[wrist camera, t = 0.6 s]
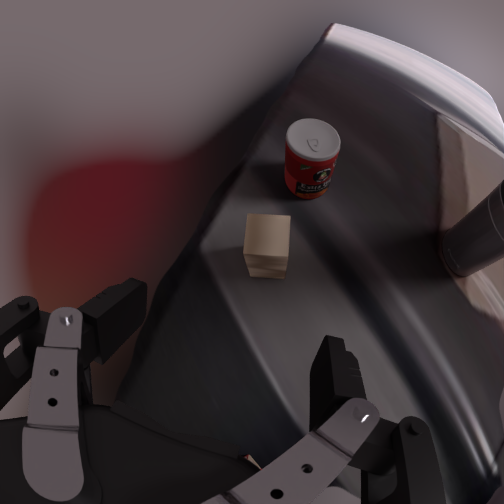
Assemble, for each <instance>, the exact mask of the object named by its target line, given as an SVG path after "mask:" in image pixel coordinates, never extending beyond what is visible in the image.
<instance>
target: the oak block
mask: <svg viewBox="0 0 504 504" xmlns="http://www.w3.org/2000/svg"><path fill="white" fill-rule="evenodd" d="M289 235H290V216H283V215H266V214H248V215H247V224H246V232H245V241H244V249H243V255H244V258H245V261H246V265H247V268H248V271H249V274H250V277H263V278H277V279H285V275H286V268H287V262H288V254H289Z"/></svg>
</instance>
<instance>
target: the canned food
mask: <svg viewBox="0 0 504 504" xmlns="http://www.w3.org/2000/svg"><path fill="white" fill-rule="evenodd" d="M339 149H340V137H339V135H338V133H337V131H336V130H335V129H334V128H333V127H332V126H330V125H329V124H327V123H325V122H323V121H320V120H317V119H302V120H298V121H296V122H294V123H293V124H292V125H291V126H290V127H289V128H288V130H287V135H286V149H285V182H286V184H287V186H288V188H289V190H290V191H291V192H292V193H293V194H294V195H296V196H298V197H300V198H303V199H315V198H318V197H320V196H321V195H322V194H323V193H324V192H325V191H326V190H327V189H328V187H329V183H330V180H331V177H332V174H333V170H334V167H335V163H336V160H337V156H338V153H339Z"/></svg>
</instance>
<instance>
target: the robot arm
mask: <svg viewBox="0 0 504 504" xmlns="http://www.w3.org/2000/svg"><path fill="white" fill-rule="evenodd" d="M442 248H443V254H444V258H445V260H446V262H447V264H448V266H449V267H450V268H451V270H452V271H453V272H455V273H456V274H457V275H459V276H464V277H465V276H469V275H471V274H473V273H475V272H477V271H479V270H481V269H483V268H485V267H487V266H489V265H491V264H493V263H494V262H496V261H498V260H500V259H502V258H503V257H504V180H503V181H502V182H501V183H500V184H499V185H498V186H497V187H496V188H495V189H494V190H493V191H492V192H491V193H490V194H489V195H488V196H487V197H486V198H485V199H484V200H483V201H481V202H480V203H479V204H478V205H477V206H476V207H475V208H474V209H473V210H472V211H470V212H469V213H468V214H467V215H466V216H465V217H464V218H462V219H461V220H460V221H459V222H458V223H457V224H455V225H454V226H453V227H452V228H451V229H449V230H448V231H447V232H446V234H445V235H444V238H443V242H442ZM146 304H147V284H146V283H145V282H142V281H140V280H137V279H134V278H129V279H128V280H126V281H125V282H123V283H122V284H117V285H114V286H110V287H108V288H107V289H105V290H104V291H102V293H99V294H98V295H96V297H93V298H92V299H90V300H89V301H88V302H86V303H85V304H83V305H82V306H80V307H79V308H77V309H75V308H72V307H61V308H58V309H56V310H54V311H53V312H52V313H48V312H44V311H40V310H39V307H38V302H37V300H36V299H35V298H33V297H30V296H21V297H18V298H16V299H14V300H12V301H11V302H9V303H8V304H6V305H5V306H3V307H2V308H0V411H1V409H2V408H3V407H4V406H5V405H6V404H7V403H8V402H9V401H10V399H11V398H12V397H13V396H14V395H15V394H16V393H17V392H18V391H19V390H20V389H21V388H22V387H23V385H25V384H26V383H27V382H28V381H29V379H30V378H32V379H31V386H30V396H29V407H28V416H26V417H19V418H13V419H4V420H0V504H310V503H311V502H312V501H313V500H314V499H315V498H316V497H317V496H318V495H319V494H320V493H321V492H322V491H323V490H324V489H325V488H326V487H327V486H328V485H329V484H330V483H331V482H332V481H333V480H334V479H335V478H336V477H337V475H338V474H339V473H340V472H341V471H342V470H343V469H344V468H345V466H346V465H349V466H352V467H355V468H358V469H361V504H446V499H445V493H444V488H443V482H442V477H441V473H440V468H439V464H438V460H437V455H436V452H435V448H434V444H433V440H432V436H431V433H430V430H429V427H428V426H427V424H426V423H425V422H424V421H423V420H421V419H419V418H417V417H413V416H408V417H405V418H403V419H402V420H401V421H400V423H399V424H397V423H394V422H391V421H388V420H385V419H383V418H381V417H380V413H379V410H378V409H377V407H376V406H375V405H374V404H373V403H371V402H370V401H368V400H367V398H366V394H365V389H364V385H363V381H362V377H361V372H360V370H359V369H360V368H359V364H358V360H357V359H356V357H355V356H354V355H353V353H352V352H349V351H346V349H345V344H344V340H343V339H342V338H338V337H333V336H329V335H326V336H325V337H324V339H323V341H322V343H321V346H320V348H319V350H318V352H317V355H316V357H315V359H314V361H313V364H312V367H311V370H310V424H309V433H308V434H307V435H306V436H305V437H304V438H302V439H301V440H300V441H299V442H298V443H296V444H295V445H294V446H293V447H291V448H290V449H289V450H288V451H286V452H285V453H284V454H282V455H281V456H280V457H279V458H277V459H276V460H275V461H273V462H272V463H270V464H269V465H268V466H266V467H265V468H263V469H262V470H261V469H260V468H259V467H257V466H256V465H255V464H254V463H252V462H251V461H249V460H248V459H246V458H244V457H243V456H241V455H239V454H238V452H239V448H240V446H238V445H234V444H230V443H227V442H223V441H220V440H216V439H213V438H210V437H204V436H196V435H188V434H181V433H175V432H172V431H170V430H168V429H166V428H165V427H163V426H162V425H160V424H159V423H158V422H156V421H155V420H153V419H152V418H150V417H149V416H148V415H146V414H145V413H143V412H141V411H139V410H137V409H134V408H132V407H130V406H128V405H126V404H124V403H122V402H120V401H118V400H117V401H116V402H115V403H114V405H113V406H112V407H110V406H105V405H95V404H93V398H92V386H91V368H90V363H91V362H92V361H93V360H94V361H96V362H97V363H99V364H101V365H103V364H104V363H105V362H106V361H107V360H108V359H109V358H110V356H112V355H113V354H114V353H115V351H117V349H118V348H119V347H120V346H121V345H122V344H123V343H124V342H125V341H126V340H127V339H128V338H129V337H130V336H131V335H132V334H133V333H134V332H135V331H136V330H137V329H138V328H139V327H140V326H141V325H142V323H143V321H144V319H145V315H146ZM17 336H18V339H19V342H20V346H19V347H18V348H17V349H15V350H14V351H13V352H12V353H11V354H10V355H8V356H7V357H6V358H4V355H3V352H4V348H5V346H6V345H7V344H8V343H10V342H11V341H12V340H13V339H14V338H16V337H17Z"/></svg>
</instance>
